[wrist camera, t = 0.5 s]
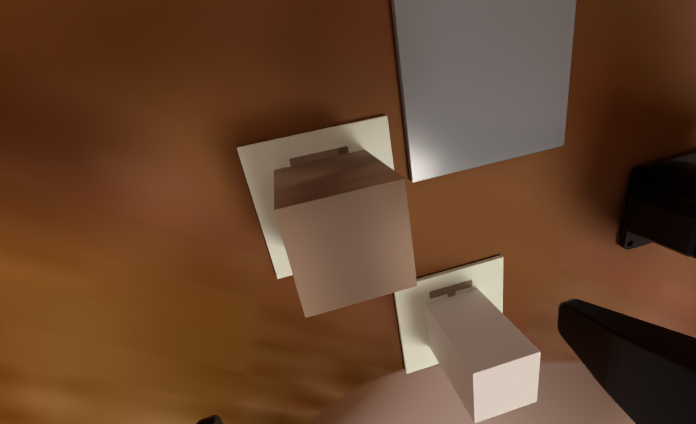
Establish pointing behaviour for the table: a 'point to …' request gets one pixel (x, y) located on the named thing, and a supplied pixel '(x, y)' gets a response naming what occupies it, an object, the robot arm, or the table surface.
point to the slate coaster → (481, 80)
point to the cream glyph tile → (300, 150)
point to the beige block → (482, 354)
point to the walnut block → (344, 230)
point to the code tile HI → (438, 287)
